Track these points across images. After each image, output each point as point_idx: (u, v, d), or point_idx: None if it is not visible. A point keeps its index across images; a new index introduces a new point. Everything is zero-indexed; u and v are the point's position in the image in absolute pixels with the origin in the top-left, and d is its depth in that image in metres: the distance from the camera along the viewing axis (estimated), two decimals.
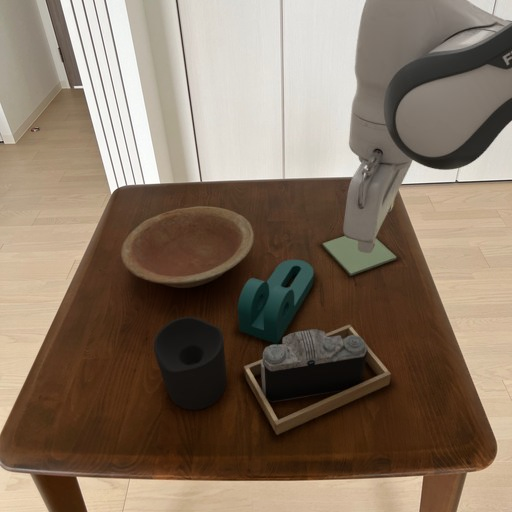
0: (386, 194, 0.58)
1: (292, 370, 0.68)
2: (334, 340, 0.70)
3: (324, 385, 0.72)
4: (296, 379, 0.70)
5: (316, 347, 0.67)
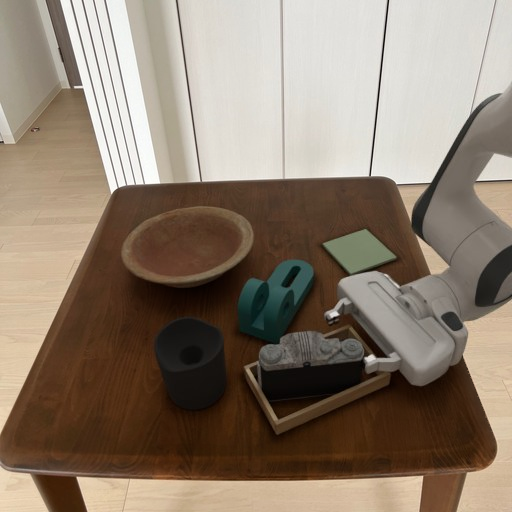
0: (376, 293, 0.77)
1: (287, 371, 0.68)
2: (331, 343, 0.69)
3: (320, 387, 0.71)
4: (292, 380, 0.70)
5: (312, 349, 0.67)
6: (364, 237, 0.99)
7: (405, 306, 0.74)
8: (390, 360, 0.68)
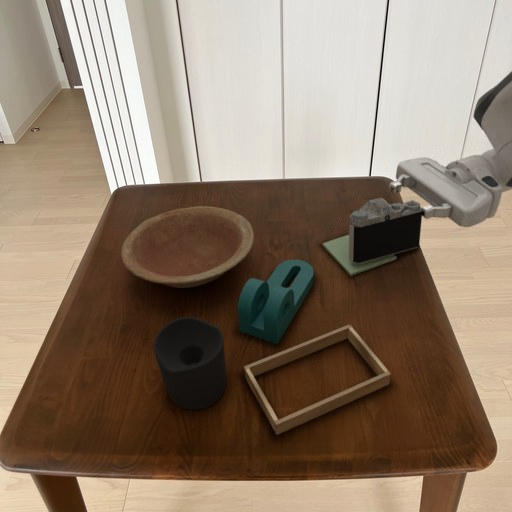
0: (428, 169, 0.99)
1: (374, 226, 0.89)
2: None
3: (395, 243, 0.93)
4: (377, 236, 0.90)
5: (388, 205, 0.89)
6: None
7: (452, 176, 0.96)
8: (443, 207, 0.90)
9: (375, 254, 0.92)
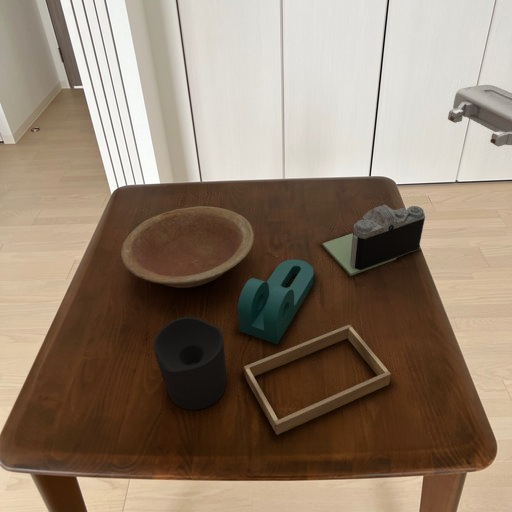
0: (493, 96, 0.85)
1: (378, 236, 0.89)
2: (400, 211, 0.91)
3: (396, 249, 0.93)
4: (379, 245, 0.90)
5: (393, 214, 0.89)
6: None
7: None
8: None
9: (376, 260, 0.92)
